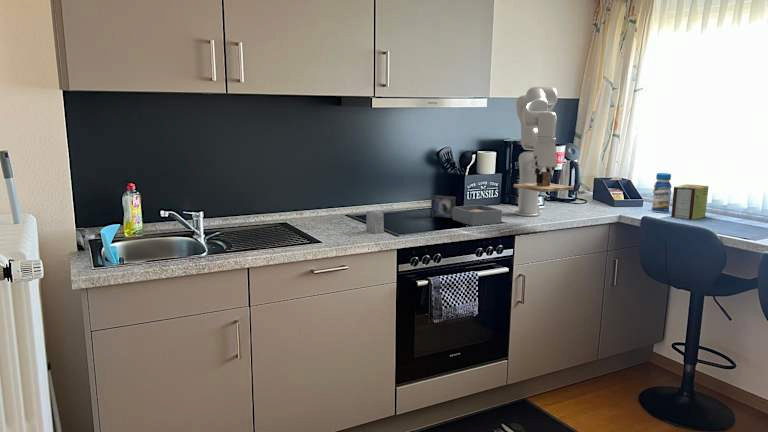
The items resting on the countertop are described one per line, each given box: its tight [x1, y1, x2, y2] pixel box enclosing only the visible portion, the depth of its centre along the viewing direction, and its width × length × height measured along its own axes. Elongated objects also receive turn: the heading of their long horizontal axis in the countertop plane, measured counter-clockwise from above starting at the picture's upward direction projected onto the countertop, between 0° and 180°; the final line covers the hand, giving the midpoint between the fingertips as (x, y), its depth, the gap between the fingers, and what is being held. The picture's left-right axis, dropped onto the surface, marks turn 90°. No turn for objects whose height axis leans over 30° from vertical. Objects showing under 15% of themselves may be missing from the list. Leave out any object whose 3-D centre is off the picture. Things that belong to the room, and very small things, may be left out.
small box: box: [430, 194, 457, 219], centre depth 281 cm, size 11×6×10 cm, turn 62°
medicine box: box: [365, 210, 385, 235], centre depth 248 cm, size 8×4×9 cm, turn 30°
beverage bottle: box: [651, 172, 672, 214], centre depth 301 cm, size 8×8×20 cm
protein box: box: [670, 183, 709, 221], centre depth 287 cm, size 10×15×16 cm
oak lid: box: [513, 171, 574, 193], centre depth 254 cm, size 18×18×7 cm
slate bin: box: [452, 204, 503, 227], centre depth 268 cm, size 16×16×7 cm
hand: (543, 182), depth 254 cm, fingers closed on oak lid, 4 cm apart
